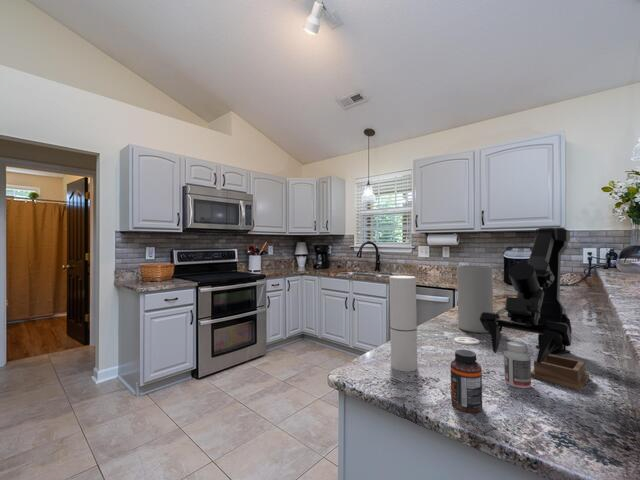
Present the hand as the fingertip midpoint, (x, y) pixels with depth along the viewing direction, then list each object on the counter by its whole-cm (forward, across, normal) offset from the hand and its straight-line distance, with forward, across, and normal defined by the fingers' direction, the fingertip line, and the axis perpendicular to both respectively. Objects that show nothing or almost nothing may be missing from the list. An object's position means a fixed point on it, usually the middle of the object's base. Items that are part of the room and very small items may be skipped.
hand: (515, 357), depth 73 cm
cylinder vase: (-26, -26, +36) cm, 51 cm away
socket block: (-4, +6, +14) cm, 16 cm away
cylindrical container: (+12, -25, -2) cm, 27 cm away
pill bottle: (+4, 0, +6) cm, 7 cm away
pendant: (-14, -21, +24) cm, 35 cm away
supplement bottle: (+18, -4, -8) cm, 20 cm away
